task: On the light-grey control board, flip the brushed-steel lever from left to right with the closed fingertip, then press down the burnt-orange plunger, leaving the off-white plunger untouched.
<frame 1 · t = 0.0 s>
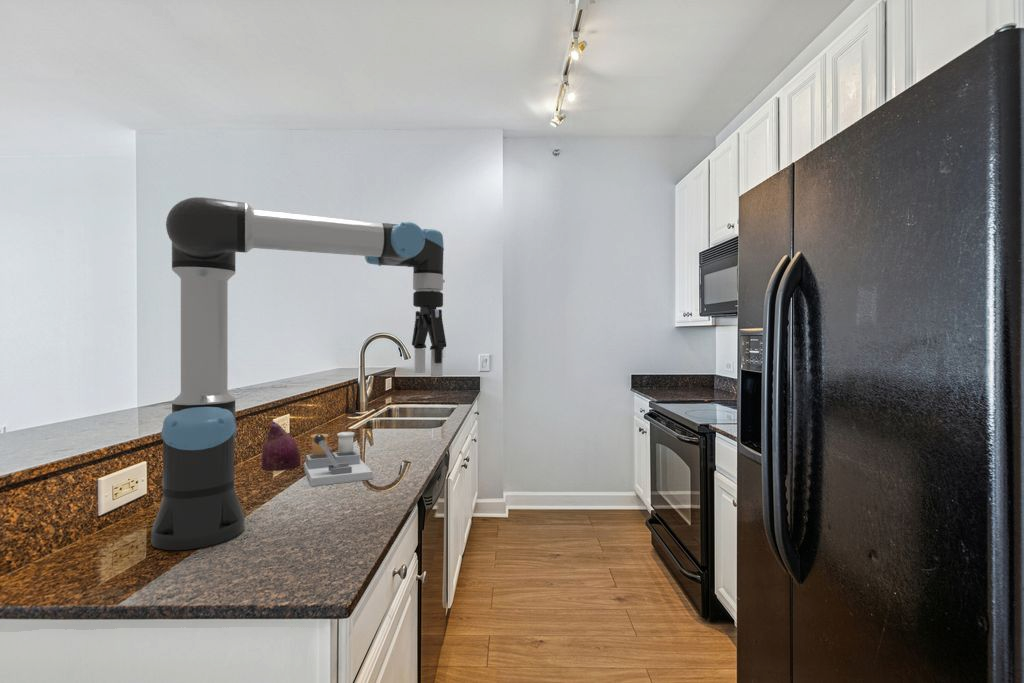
hand: (427, 374, 132), 28 cm above the worktop, fingers open, 13 cm apart
panel: (336, 474, 141), on the worktop
lever: (327, 451, 135), point 7 cm above the worktop, hinge at -30.0°
plunger white: (345, 442, 146), point 8 cm above the worktop, slide at 0.0 cm
vegetable: (281, 467, 150), on the worktop
plunger orange: (319, 444, 143), point 8 cm above the worktop, slide at 0.0 cm
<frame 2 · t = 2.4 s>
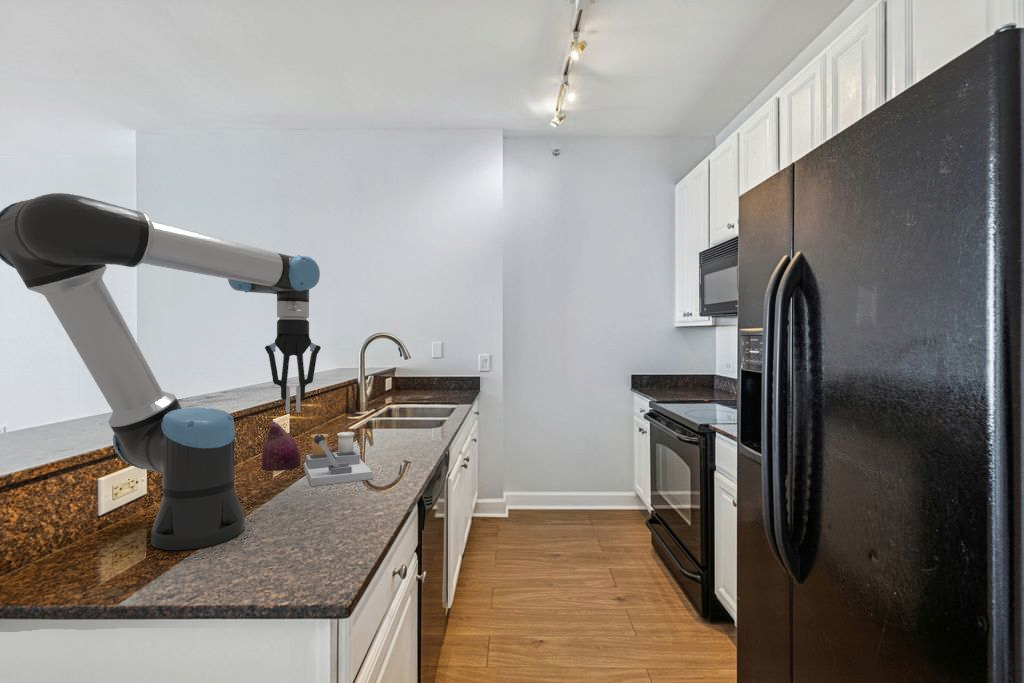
hand: (293, 411, 131), 18 cm above the worktop, fingers closed
nothing on the worktop moved.
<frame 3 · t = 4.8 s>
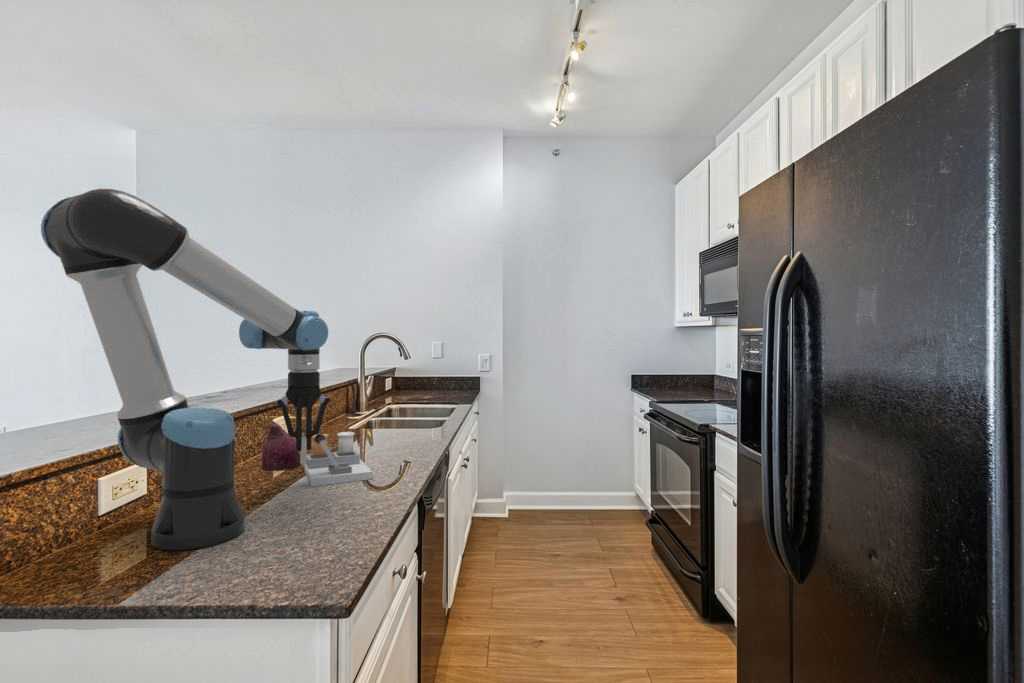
hand: (303, 462, 133), 5 cm above the worktop, fingers closed
lever: (327, 451, 135), point 8 cm above the worktop, hinge at -29.0°, touching gripper
everything else where it was.
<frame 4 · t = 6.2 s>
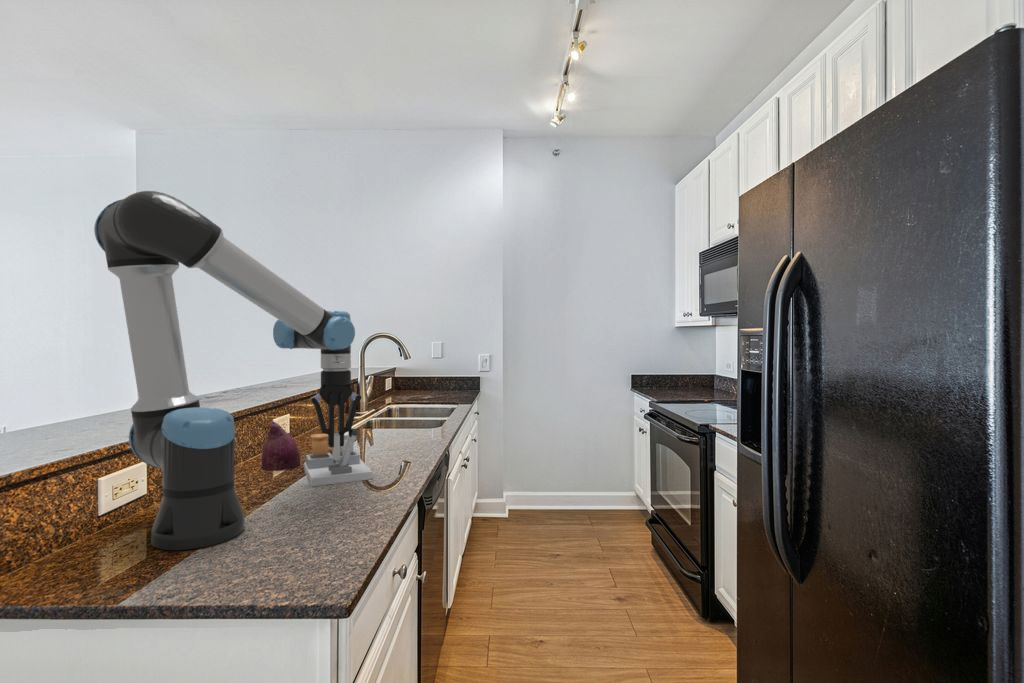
hand: (336, 458, 137), 5 cm above the worktop, fingers closed
lever: (348, 448, 138), point 8 cm above the worktop, hinge at 19.7°, touching gripper
everything else where it was.
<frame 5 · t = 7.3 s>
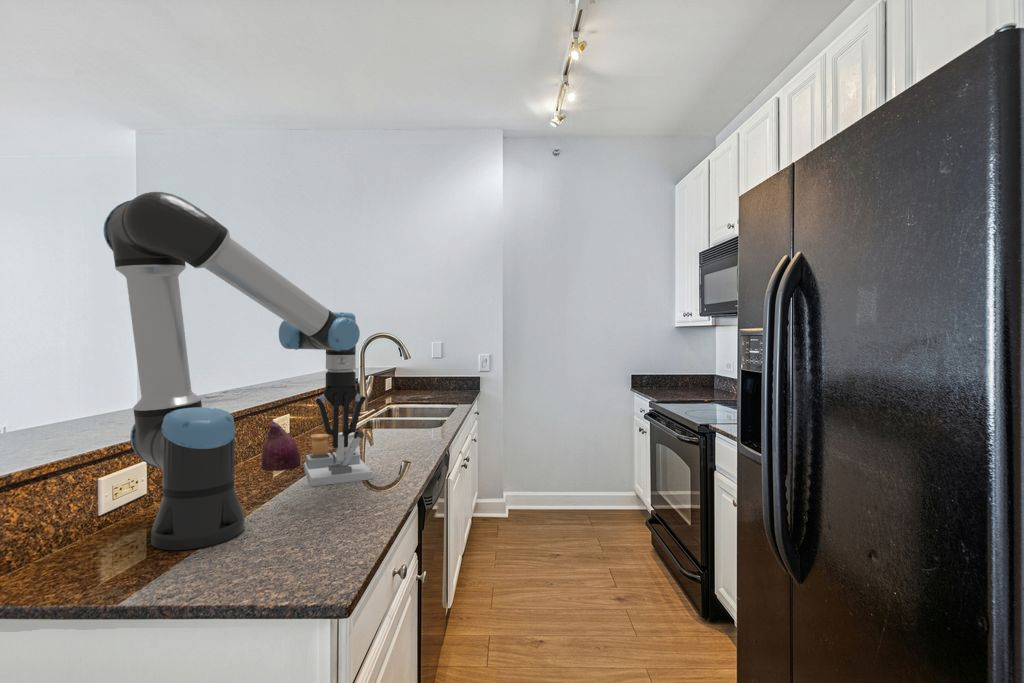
hand: (340, 459, 137), 5 cm above the worktop, fingers closed
lever: (351, 449, 138), point 8 cm above the worktop, hinge at 28.2°, touching gripper
everything else where it was.
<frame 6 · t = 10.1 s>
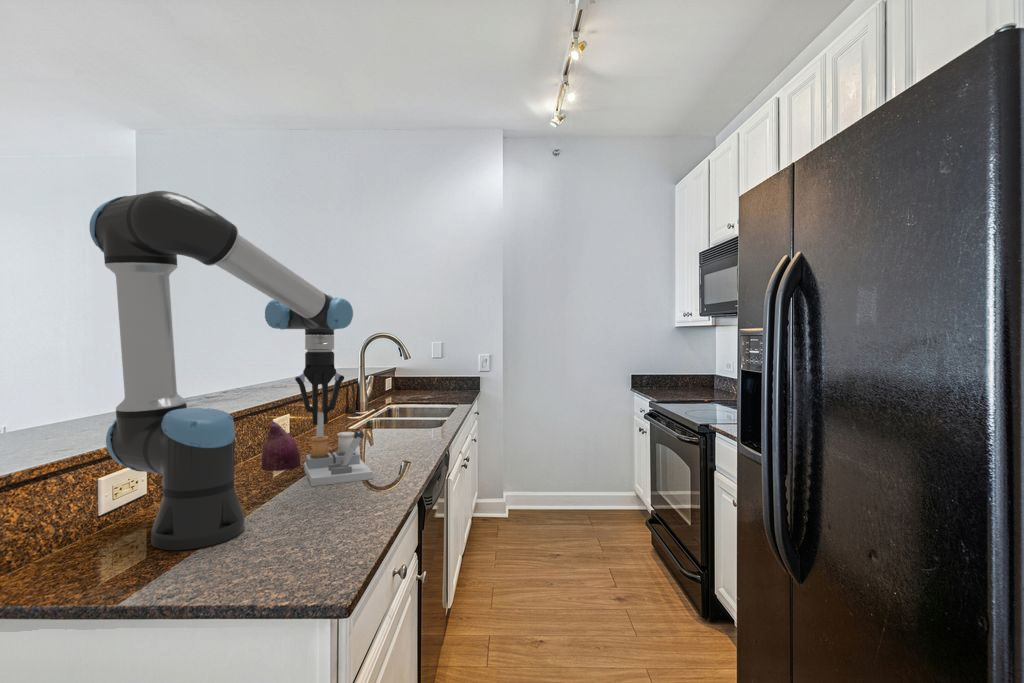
hand: (320, 436, 143), 10 cm above the worktop, fingers closed
lever: (351, 449, 138), point 8 cm above the worktop, hinge at 28.3°
plunger orange: (319, 446, 143), point 7 cm above the worktop, slide at 0.6 cm, touching gripper
everything else where it was.
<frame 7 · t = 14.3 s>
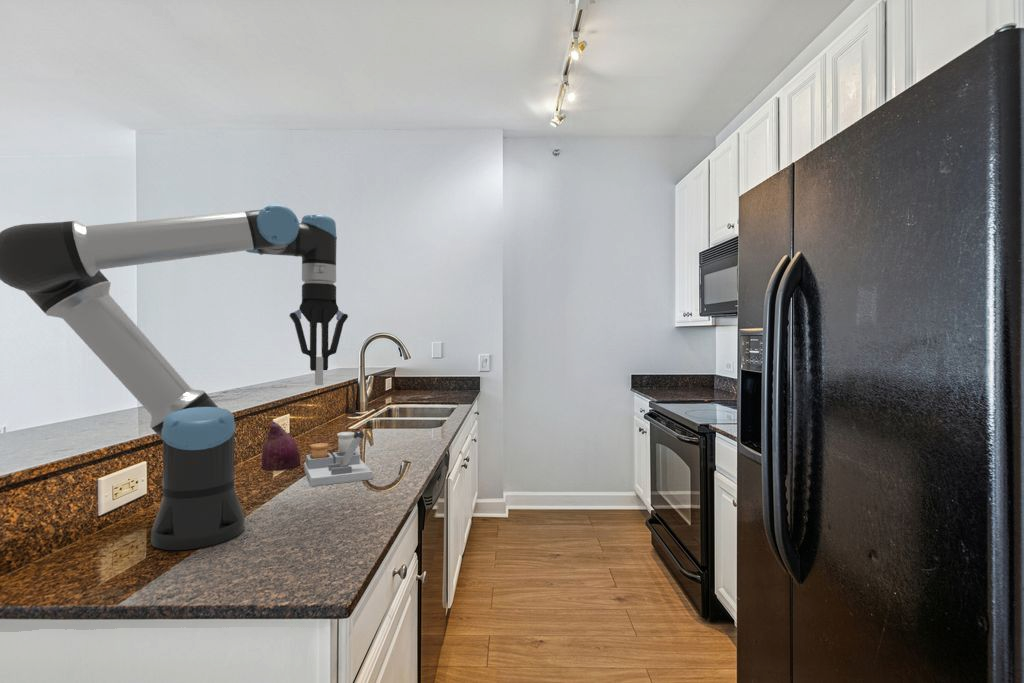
hand: (319, 384, 121), 26 cm above the worktop, fingers closed
plunger orange: (319, 453, 143), point 5 cm above the worktop, slide at 2.6 cm
everything else where it was.
at the end: lever at +28° (first picture: -30°); plunger orange slide at 2.6 cm; plunger white slide at 0.0 cm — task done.
